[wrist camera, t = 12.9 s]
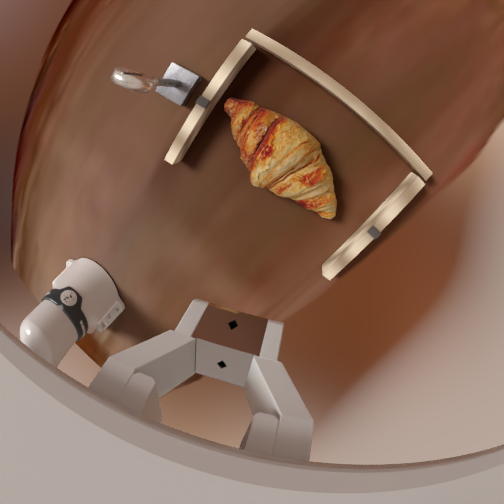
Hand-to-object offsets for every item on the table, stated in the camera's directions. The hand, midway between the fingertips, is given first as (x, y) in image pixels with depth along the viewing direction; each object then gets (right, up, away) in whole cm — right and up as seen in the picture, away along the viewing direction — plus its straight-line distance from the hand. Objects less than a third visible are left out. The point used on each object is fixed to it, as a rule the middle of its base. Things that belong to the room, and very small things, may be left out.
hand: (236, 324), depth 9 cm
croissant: (+5, +15, +27) cm, 32 cm away
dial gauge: (-10, +26, +24) cm, 37 cm away
